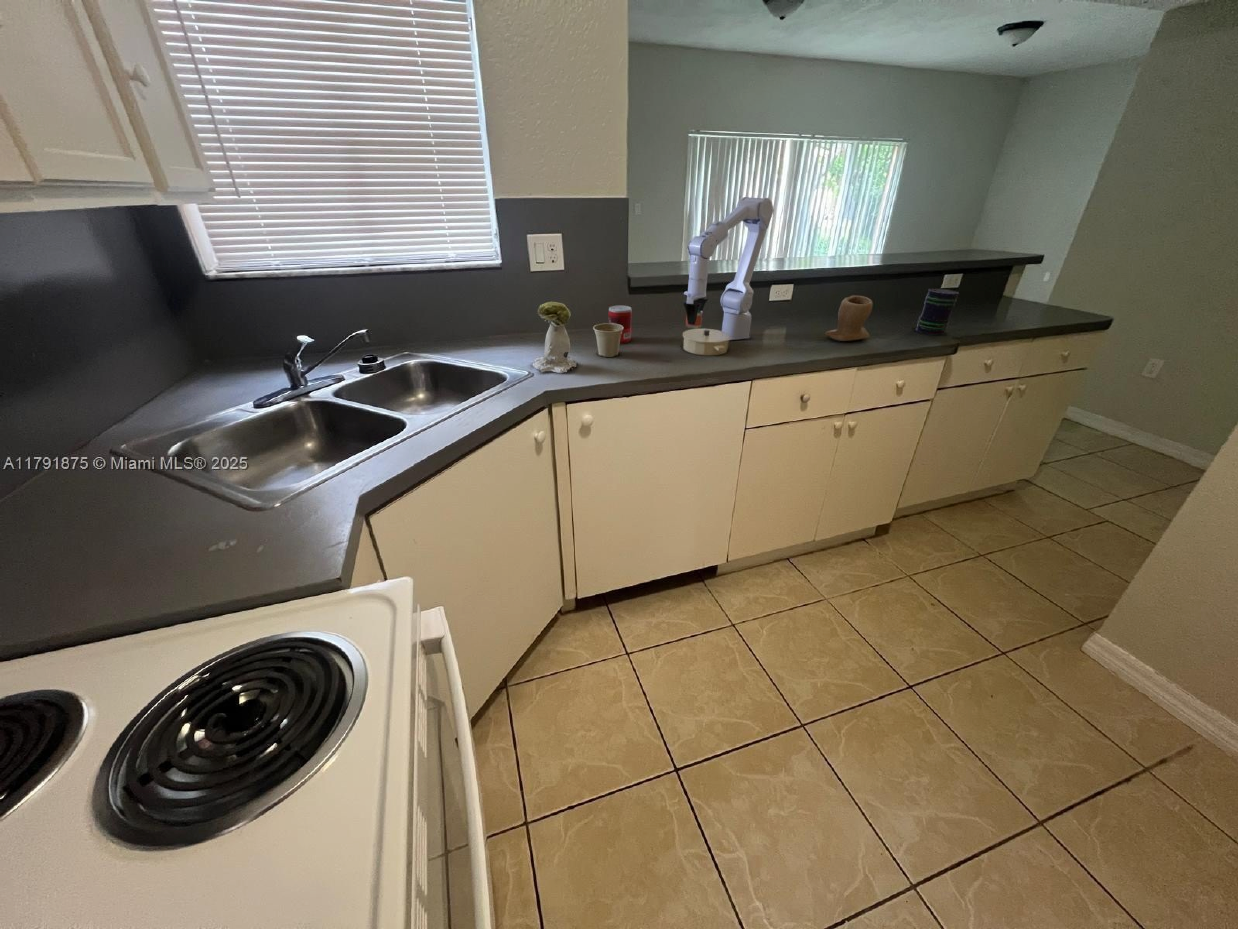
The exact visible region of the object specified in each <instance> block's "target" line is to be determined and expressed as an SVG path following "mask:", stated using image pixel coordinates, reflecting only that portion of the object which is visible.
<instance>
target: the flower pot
mask: <svg viewBox="0 0 1238 929" xmlns="http://www.w3.org/2000/svg"><path fill="white" fill-rule="evenodd" d="M592 329H593V331H594V334H595V338H596V344H597V351H598V355H599V356H602V357H604V358H614V357H615V356H618V355H619V350H620V337H621V334H622V330H623V329H624V328H623V326H621V325H619V324H612V323H609V322H607V323H606V322H604V323H597V324H595V325H594V326H593V327H592Z"/></svg>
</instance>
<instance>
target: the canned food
mask: <svg viewBox="0 0 1238 929" xmlns="http://www.w3.org/2000/svg"><path fill="white" fill-rule="evenodd" d="M632 311H633V310H632V307H631V306H628V305H622V304H621V305H612V306H609V307H608V323H612V324H619V325H621V326H623V328H624V329H623V330H622V334H621V337H620V344H627V343H629V342H630V341H631V339H632V338H631V337H632ZM620 344H619V345H620Z"/></svg>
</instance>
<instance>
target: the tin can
mask: <svg viewBox="0 0 1238 929" xmlns="http://www.w3.org/2000/svg"><path fill="white" fill-rule="evenodd" d="M685 316H686V317H685V328H688V329H701V328H702V322H703V311H701V310H699V311H698V314H697V318H696V322H695V324H694V325H691V324H688V321H687V314H686V315H685Z"/></svg>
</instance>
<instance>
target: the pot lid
mask: <svg viewBox="0 0 1238 929" xmlns="http://www.w3.org/2000/svg"><path fill="white" fill-rule="evenodd" d="M683 337H684V338H685V339H687V340H690V341H693V342H699V343H709V344H714V343H723V342H727V341H729V342H730V341H731V340H730V335H729V334H727V333H725V332H722V330H719V329H714V328H713V329H711V328H696V329H694V328H690V329H688V330H684V331H683V332H682V338H683Z"/></svg>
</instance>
